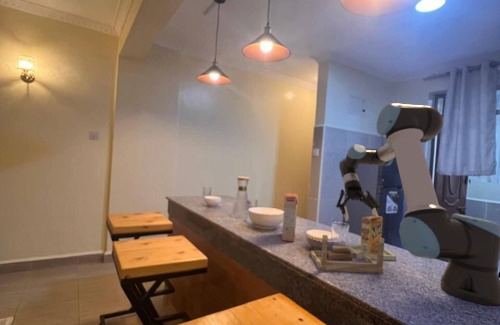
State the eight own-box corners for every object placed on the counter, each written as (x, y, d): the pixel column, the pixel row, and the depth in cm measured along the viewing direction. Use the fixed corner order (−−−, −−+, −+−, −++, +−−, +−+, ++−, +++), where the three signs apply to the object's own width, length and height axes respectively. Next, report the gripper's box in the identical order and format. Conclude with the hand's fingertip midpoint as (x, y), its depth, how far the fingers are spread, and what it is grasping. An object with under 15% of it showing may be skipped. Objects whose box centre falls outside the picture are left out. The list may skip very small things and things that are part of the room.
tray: (396, 260, 110) (396, 256, 110) (357, 258, 110) (357, 254, 110) (382, 250, 122) (382, 246, 122) (346, 248, 121) (346, 245, 121)
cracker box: (294, 242, 127) (297, 196, 127) (281, 241, 128) (283, 195, 128) (295, 234, 141) (298, 193, 140) (283, 233, 142) (286, 192, 141)
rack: (383, 273, 96) (385, 239, 96) (320, 270, 96) (322, 235, 96) (363, 257, 112) (365, 227, 112) (310, 254, 112) (311, 224, 112)
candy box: (369, 256, 112) (371, 218, 111) (359, 253, 115) (361, 216, 115) (381, 253, 117) (383, 216, 116) (371, 250, 120) (373, 214, 120)
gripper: (373, 190, 143) (386, 226, 128) (325, 187, 142) (332, 223, 128) (379, 180, 137) (393, 217, 123) (329, 177, 137) (337, 214, 122)
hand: (362, 220), depth 125 cm, fingers open, 13 cm apart
